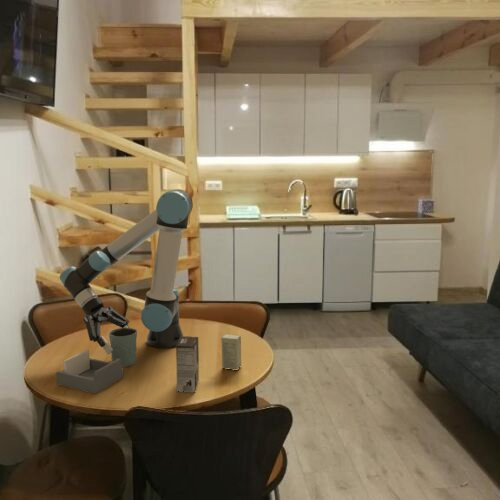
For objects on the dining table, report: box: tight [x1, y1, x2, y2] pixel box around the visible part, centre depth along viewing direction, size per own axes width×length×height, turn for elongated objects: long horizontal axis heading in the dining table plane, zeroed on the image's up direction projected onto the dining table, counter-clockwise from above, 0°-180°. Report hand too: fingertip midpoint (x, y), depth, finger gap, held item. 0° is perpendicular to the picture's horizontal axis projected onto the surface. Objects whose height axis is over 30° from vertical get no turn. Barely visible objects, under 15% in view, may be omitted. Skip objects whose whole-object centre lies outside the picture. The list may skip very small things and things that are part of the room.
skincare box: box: [221, 333, 242, 369], centre depth 177 cm, size 6×4×12 cm
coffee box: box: [175, 335, 200, 393], centre depth 161 cm, size 9×6×16 cm
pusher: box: [62, 349, 90, 375], centre depth 167 cm, size 1×11×7 cm, turn 156°
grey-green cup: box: [108, 327, 138, 368], centre depth 181 cm, size 10×10×12 cm
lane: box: [55, 357, 124, 395], centre depth 165 cm, size 16×14×7 cm
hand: (122, 346), depth 181 cm, fingers open, 13 cm apart
